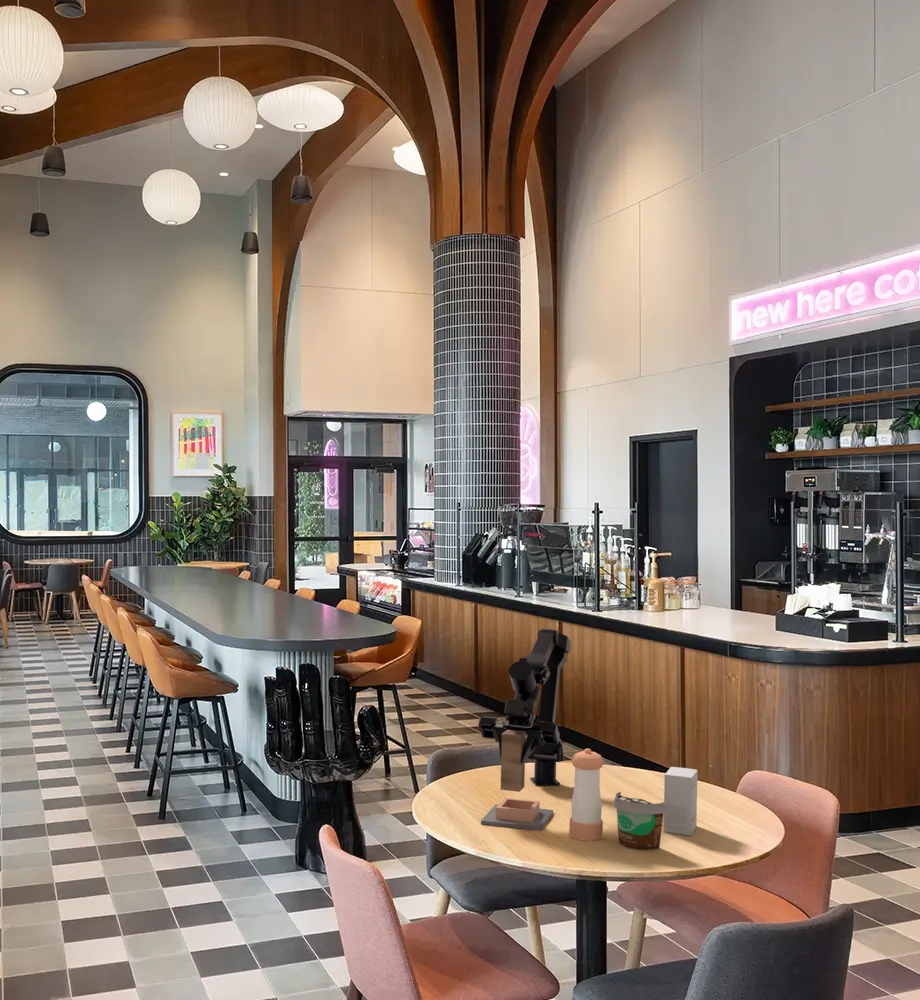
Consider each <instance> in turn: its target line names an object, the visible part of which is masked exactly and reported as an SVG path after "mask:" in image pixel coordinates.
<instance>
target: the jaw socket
mask: <svg viewBox="0 0 920 1000" xmlns="http://www.w3.org/2000/svg"><path fill="white" fill-rule="evenodd" d="M540 804H541V802H540V801H539V800H529V799H522V798H521V799H520V798H511V797H504V798H503V799H502V800H501V801H500V802H499V804H497V803H495V805H493V807H492V808H491V809H490V810H489V811H488V812H487V813H486V814H485V815H484V816H483V818H482V819H481V820H480V825H484V826H485V825H487V826H496V827H502V828H503V827H504V828H505V827H506V828H514V829H523V830H534V831H540V832H541V831H543V829H544V828H545V826H546V824H548V822H549V820H550V819H551V817H552V815H554V809H547V808H541V807H540Z"/></svg>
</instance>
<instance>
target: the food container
mask: <svg viewBox="0 0 920 1000" xmlns="http://www.w3.org/2000/svg"><path fill="white" fill-rule="evenodd" d="M613 807H614V808H615V809H616V822H617V823H616V824H617V835H618V844H620V846H622V847H624V848H627V849H631V850H637V851H638V850H639V851H651V850H658V849H660V846H661V837H662V836H661V835H662V829H663V822H664V813H665V812H666V807H665V805H664V801H663V802H659V803H652V802H649V801H647V800H645V799H642V798H633V797H628V796H622V793H621V791H618V792H616V794H615V796H614V799H613Z"/></svg>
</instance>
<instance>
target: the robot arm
mask: <svg viewBox="0 0 920 1000" xmlns="http://www.w3.org/2000/svg"><path fill="white" fill-rule="evenodd" d="M571 647H572V643H571V640H570V638H569V636H567V635H566V634H563V633H560V632H559V630H556V629H549V628H541V629H539V630H538V631H537V636H536V641H535V643H534V644H533V647H532V649H531V650H530V654H528V655H525V656H523V657H519V659H518V661H515V662H514V663H512V664H511V665H510V666H509V668H508V675H509V679H510V683H511V685H512V690H513V691H514V692H515V694H514V698H513V699H509V698H507V699H505V705H504V711H503V712H504V714H506V715H505V719H506V721H507V722H508V723H505V722H503V721H499V720H498V718H497V716H486V715H482V716H481V717H480V718H479V719H478V720H479V721H478V724H477V725H478V729H479V731H480V734H481V737H482V738H483V739H488V740H489V739H490V740H494V741H495V742H496V743H498V748H499V749H498V750H499V756H500V757H499V759H500V760H501V747H502V733H503V732H505V731H506V730H516V731H526V734H525V736H526V739H525V746H524V749H523V752H522V756H521V763H524V762H525V763H526V761H527V760H534V767H533V768H534V769H533V771H534V772H533V773H534V775H533V777H532V776H531V777H530V778H529V779H530V781H531V782H532V783H533V784H534V785H535V786H559V785H561V782H560V781H559V780H558V779H557V763H560V762H564V760H565V753H564V746H563V744H562V739H561V738H560V737H561V733H560V732H559V728H558V725H557V723H556V715H557V706H558V695H559V685H560V676H561V669H562V668H563V667H564V665H565V664H566V663H567V661H568V657H569V654H570V653H571ZM539 685H540V686H541V689H540V687H538V686H539ZM539 697H540V699H539ZM538 701H539V702H538ZM538 703H539V710H538V718H537V720H536V712H537V706H538ZM534 720H536V721H535V723H534Z"/></svg>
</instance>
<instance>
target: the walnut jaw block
mask: <svg viewBox="0 0 920 1000" xmlns="http://www.w3.org/2000/svg"><path fill="white" fill-rule="evenodd" d="M525 734H526V731H516V730H506V731H505V732H503V733H502V747H501V759H500V790H501V791H509V792H518V793H519V792H521V791H522V790H523V789H524V788H525V777H526V776H525V774H526V773H525V772H526V771H525V770H526V761H525V762H524V763H521V756H522V752H523V749H524V746H525V743H526V735H525Z"/></svg>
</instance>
